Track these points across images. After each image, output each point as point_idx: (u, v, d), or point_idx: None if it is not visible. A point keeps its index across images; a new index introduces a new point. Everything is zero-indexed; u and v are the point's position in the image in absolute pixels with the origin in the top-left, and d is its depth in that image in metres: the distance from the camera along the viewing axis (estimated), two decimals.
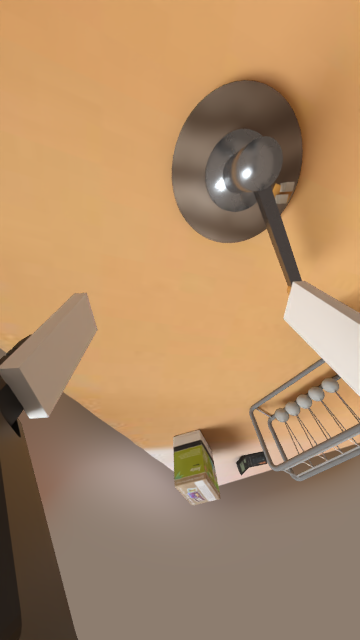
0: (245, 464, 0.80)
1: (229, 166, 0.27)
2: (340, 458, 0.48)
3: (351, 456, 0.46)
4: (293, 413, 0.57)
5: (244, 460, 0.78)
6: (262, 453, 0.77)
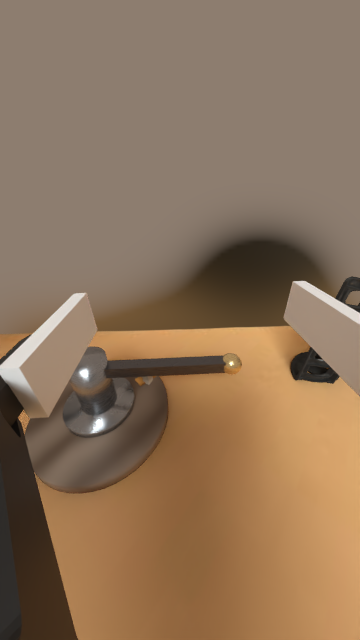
0: None
1: (76, 395, 0.27)
2: None
3: None
4: None
5: None
6: None
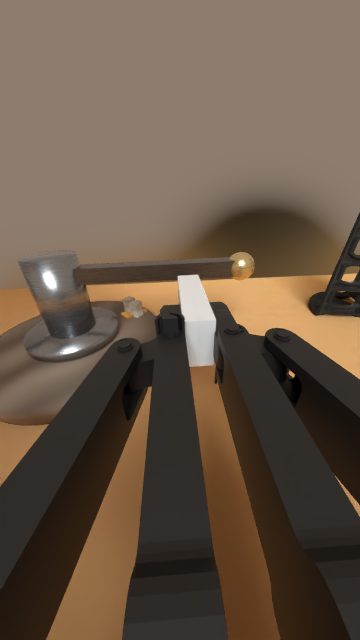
0: None
1: (38, 307, 0.20)
2: None
3: None
4: None
5: None
6: None
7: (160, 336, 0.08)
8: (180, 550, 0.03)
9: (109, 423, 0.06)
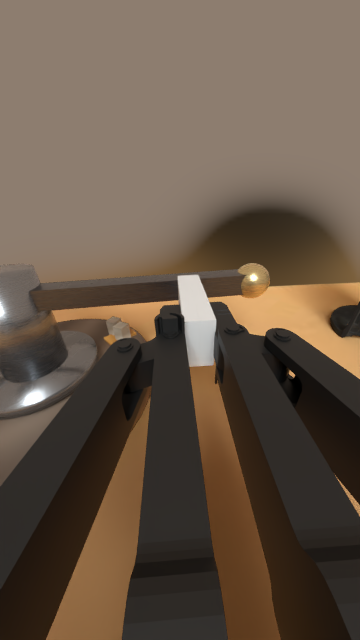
0: None
1: None
2: None
3: None
4: None
5: None
6: None
7: (160, 336, 0.08)
8: (180, 550, 0.03)
9: (109, 423, 0.06)
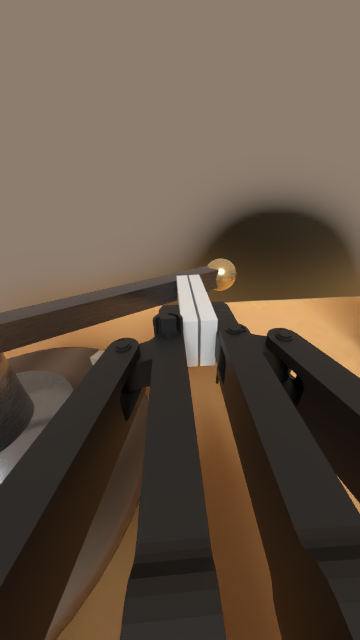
0: None
1: None
2: None
3: None
4: None
5: None
6: None
7: (158, 336, 0.08)
8: (178, 550, 0.03)
9: (107, 423, 0.06)
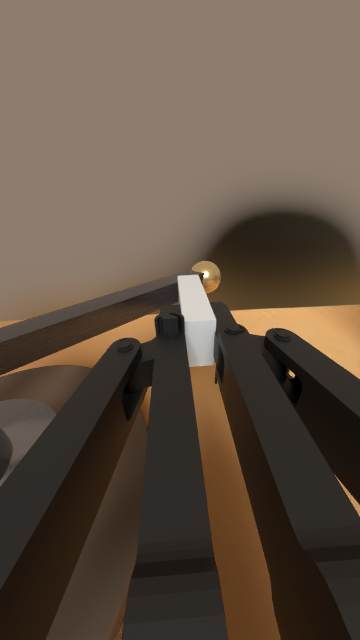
0: None
1: None
2: None
3: None
4: None
5: None
6: None
7: (160, 336, 0.08)
8: (180, 550, 0.03)
9: (109, 423, 0.06)
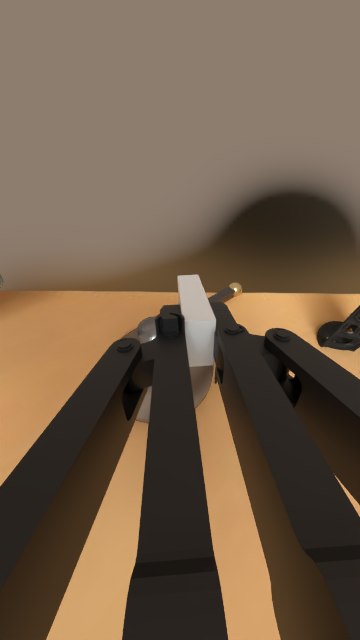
0: None
1: None
2: None
3: None
4: None
5: None
6: None
7: (160, 336, 0.08)
8: (180, 550, 0.03)
9: (109, 423, 0.06)
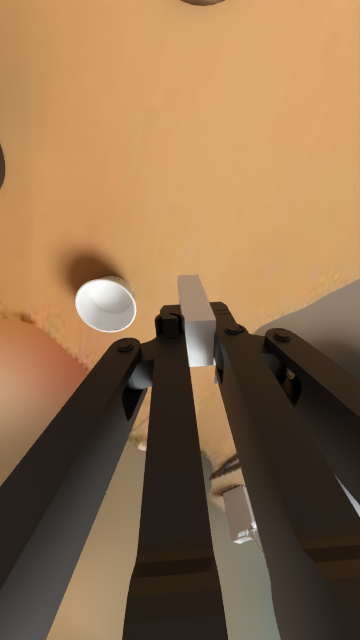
0: None
1: None
2: None
3: None
4: None
5: None
6: None
7: (160, 336, 0.08)
8: (180, 550, 0.03)
9: (109, 423, 0.06)
